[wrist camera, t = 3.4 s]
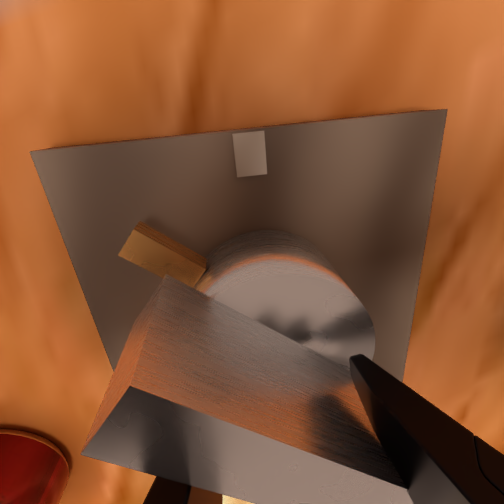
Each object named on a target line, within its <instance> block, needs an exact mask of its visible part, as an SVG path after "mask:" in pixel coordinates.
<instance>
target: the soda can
mask: <svg viewBox="0 0 504 504" xmlns="http://www.w3.org/2000/svg"><path fill="white" fill-rule="evenodd" d="M68 478H69V467H68V464H67V461H66V459H65V456H64V454H63V453H62V452H61V450H60V449H59V448H58V447H57V446H56V445H54V444H53V443H52V442H50V441H49V440H47V439H45V438H43V437H41V436H38V435H36V434H33V433H29V432H25V431H19V430H11V429H0V504H59V502H60V500H61V497H62V495H63V492H64V490H65V487H66V485H67V482H68Z"/></svg>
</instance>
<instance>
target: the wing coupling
mask: <svg viewBox="0 0 504 504" xmlns="http://www.w3.org/2000/svg"><path fill="white" fill-rule="evenodd" d="M118 255H119V256H120V257H122V258H124V259H126V260H128V261H130V262H132V263H134V264H136V265H138V266H140V267H142V268H144V269H146V270H148V271H150V272H152V273H154V274H155V275H157V276H159V277H161V278H163V280H162V281H161V283H160V284H159V286H158V287H157V289H156V290H155V292H154V293H153V295H152V296H151V298H150V299H149V301H148V302H147V304H146V305H145V307H144V308H143V310H142V311H141V313H140V314H139V316H138V317H137V319H136V320H135V322H134V324H133V326H132V329H131V331H130V334H129V336H128V339H127V341H126V344H125V346H124V349H123V351H122V353H121V356H120V358H119V361H118V363H117V366H116V368H115V371H114V373H113V376H112V378H111V381H110V383H109V386H108V388H107V390H106V393H105V395H104V398H103V400H102V403H101V405H100V408H99V410H98V413H97V415H96V418H95V420H94V423H93V425H92V427H91V430H90V432H89V435H88V437H87V440H86V442H85V445H84V447H83V450H82V452H81V455H84V456H87V457H91V458H94V459H98V460H101V461H105V462H108V463H112V464H116V465H119V466H123V467H126V468H130V469H133V470H137V471H141V472H144V473H148V474H151V475H155V476H158V477H162V478H166V479H169V480H173V481H176V482H180V483H183V484H187V485H191V486H194V487H198V488H201V489H205V490H208V491H212V492H216V493H219V494H223V495H226V496H230V497H233V498H237V499H241V500H244V501H248V502H251V503H255V504H413V502H412V500H411V498H410V496H409V494H408V488H407V487H406V485H405V483H404V482H403V480H402V479H401V477H400V475H399V474H398V472H397V470H396V469H395V467H394V465H393V464H392V462H391V460H390V459H389V457H388V456H387V454H386V452H385V451H384V449H383V447H382V445H381V443H380V442H379V440H378V438H377V436H376V434H375V432H374V430H373V428H372V426H371V423H370V421H369V419H368V416H367V414H366V412H365V409H364V407H363V405H362V402H361V400H360V397H359V395H358V393H357V390H356V388H355V386H354V383H353V381H352V378H351V372H350V363H349V358H350V356H353V355H357V354H363V355H365V356H366V357H368V358H369V359H370V360H372V359H373V355H374V351H375V331H374V327H373V323H372V320H371V318H370V316H369V314H368V312H367V310H366V309H365V307H364V306H363V304H362V303H361V302H360V301H359V299H358V298H357V297H356V295H355V294H354V293H353V292H352V290H351V289H350V288H349V287H348V285H347V284H346V283H345V282H344V280H343V279H342V278H341V276H340V275H339V274H338V273H337V271H336V270H335V269H334V268H333V266H332V265H331V264H330V262H329V261H328V260H327V259H326V257H325V256H324V255H323V254H322V253H321V252H320V251H319V249H318V248H317V247H315V246H314V245H313V244H311V243H310V242H309V241H307V240H305V239H303V238H302V237H299V236H297V235H294V234H291V233H287V232H283V231H275V230H260V231H252V232H248V233H244V234H240V235H238V236H235V237H233V238H230V239H229V240H227V241H225V242H223V243H221V244H220V245H219V246H217V247H216V248H215V249H213V250H212V251H211V252H210V253H209V254H208V255H207V256H206V257H203V256H201V255H200V254H198V253H196V252H194V251H193V250H191V249H189V248H187V247H186V246H184V245H182V244H180V243H179V242H177V241H175V240H173V239H171V238H170V237H168V236H166V235H164V234H163V233H161V232H159V231H157V230H156V229H154V228H152V227H150V226H149V225H147V224H145V223H143V222H142V221H139V222H138V224H137V225H136V226H135V228H134V229H133V231H132V232H131V234H130V236H129V237H128V239H127V241H126V243H125V244H124V246H123V248H122V249H121V251H120V253H119V254H118Z"/></svg>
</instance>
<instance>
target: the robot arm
mask: <svg viewBox="0 0 504 504" xmlns="http://www.w3.org/2000/svg"><path fill="white" fill-rule="evenodd" d="M349 363H350V372H351V378H352V381H353V383H354V386H355V388H356V390H357V393H358V395H359V397H360V400H361V402H362V405H363V407H364V409H365V412H366V414H367V416H368V419H369V421H370V423H371V426H372V428H373V430H374V432H375V434H376V436H377V438H378V440H379V442H380V443H381V445H382V447H383V449H384V451H385V452H386V454H387V456H388V457H389V459H390V460H391V462H392V464H393V465H394V467H395V469H396V470H397V472H398V474H399V475H400V477H401V479H402V480H403V482H404V483H405V485H406V487H407V488H408V494H409V496H410V498H411V500H412V502H413V504H504V455H503V454H502V453H500V452H499V451H497V450H496V449H494V448H493V447H491V446H490V445H489V444H487V443H486V442H485V441H483V440H482V439H480V438H479V437H478V436H474V434H473V433H472V432H470V431H469V430H468V429H466V428H465V427H464V426H462V425H461V424H459V423H458V422H457V421H455V420H454V419H452V418H451V417H450V416H448V415H447V414H445V413H444V412H443V411H441V410H440V409H438V408H437V407H436V406H434V405H433V404H432V403H430V402H429V401H427V400H426V399H425V398H423V397H422V396H420V395H419V394H418V393H416V392H415V391H413V390H412V389H411V388H409V387H408V386H406V385H405V384H404V383H402V382H401V381H400V380H398V379H397V378H395V377H394V376H393V375H391V374H390V373H388V372H387V371H386V370H384V369H383V368H381V367H380V366H379V365H377V364H376V363H374V362H373V361H372V360H370V359H369V358H368V357H366V356H365V355H363V354H357V355H353V356H350V358H349ZM143 504H222V494H219V493H216V492H212V491H208V490H205V489H201V488H198V487H194V486H191V485H187V484H183V483H180V482H176V481H173V480H169V479H166V478H162V477H158V476H156V478H155V480H154V482H153V484H152V486H151V488H150V490H149V492H148V494H147V496H146V498H145V500H144V502H143Z"/></svg>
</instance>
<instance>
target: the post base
mask: <svg viewBox="0 0 504 504" xmlns="http://www.w3.org/2000/svg"><path fill="white" fill-rule="evenodd" d="M447 110H448V109H441V110H421V111H411V112H401V113H391V114H382V115H372V116H362V117H352V118H342V119H332V120H322V121H313V122H303V123H293V124H283V125H273V126H263V127H253V128H244V129H234V130H224V131H214V132H204V133H194V134H184V135H175V136H165V137H155V138H145V139H135V140H125V141H115V142H106V143H96V144H86V145H76V146H66V147H56V148H48V149H42V150H37V151H31V152H30V154H31V157H32V159H33V162H34V164H35V167H36V170H37V172H38V175H39V178H40V180H41V183H42V185H43V188H44V191H45V193H46V196H47V198H48V201H49V204H50V206H51V209H52V212H53V214H54V217H55V219H56V222H57V225H58V227H59V230H60V233H61V235H62V238H63V240H64V243H65V246H66V248H67V251H68V253H69V256H70V259H71V261H72V264H73V267H74V269H75V272H76V274H77V277H78V280H79V282H80V285H81V287H82V290H83V293H84V295H85V298H86V301H87V303H88V306H89V308H90V311H91V314H92V316H93V319H94V321H95V324H96V327H97V329H98V332H99V335H100V337H101V340H102V342H103V345H104V348H105V350H106V353H107V355H108V358H109V361H110V363H111V366H112V369H113V371H115V368H116V366H117V363H118V361H119V358H120V356H121V353H122V351H123V349H124V346H125V344H126V341H127V339H128V336H129V334H130V331H131V329H132V326H133V324H134V322H135V320H136V319H137V317H138V316H139V314H140V313H141V311H142V310H143V308H144V307H145V305H146V304H147V302H148V301H149V299H150V298H151V296H152V295H153V293H154V292H155V290H156V289H157V287H158V286H159V284H160V283H161V281H162V280H163V278H161V277H159V276H157V275H155V274H154V273H152V272H150V271H148V270H146V269H144V268H142V267H140V266H138V265H136V264H134V263H132V262H130V261H128V260H126V259H124V258H122V257H120V256H119V255H118V254H119V253H120V251H121V249H122V248H123V246H124V244H125V243H126V241H127V239H128V237H129V236H130V234H131V232H132V231H133V229H134V228H135V226H136V225H137V224H138V222H139V221H142V222H143V223H145V224H147V225H149V226H150V227H152V228H154V229H156V230H157V231H159V232H161V233H163V234H164V235H166V236H168V237H170V238H171V239H173V240H175V241H177V242H179V243H180V244H182V245H184V246H186V247H187V248H189V249H191V250H193V251H194V252H196V253H198V254H200V255H201V256H203V257H206V256H207V255H208V254H209V253H210V252H211V251H212V250H213V249H215V248H216V247H217V246H219V245H220V244H221V243H223V242H225V241H227V240H229V239H230V238H233V237H235V236H238V235H240V234H244V233H248V232H252V231H260V230H275V231H283V232H287V233H291V234H294V235H297V236H299V237H302V238H303V239H305V240H307V241H309V242H310V243H311V244H313V245H314V246H315V247H317V248H318V249H319V251H320V252H321V253H322V254H323V255H324V256H325V257H326V259H327V260H328V261H329V262H330V264H331V265H332V266H333V268H334V269H335V270H336V271H337V273H338V274H339V275H340V276H341V278H342V279H343V280H344V282H345V283H346V284H347V285H348V287H349V288H350V289H351V290H352V292H353V293H354V294H355V295H356V297H357V298H358V299H359V301H360V302H361V303H362V304H363V306H364V307H365V309H366V310H367V312H368V314H369V316H370V318H371V320H372V323H373V327H374V331H375V351H374V355H373V359H372V361H373V362H374V363H376V364H377V365H379V366H380V367H381V368H383V369H384V370H386V371H387V372H388V373H390V374H391V375H393V376H394V377H395V378H397V379H398V380H400V381H401V382H402V381H403V375H404V369H405V363H406V357H407V351H408V345H409V339H410V333H411V327H412V321H413V315H414V309H415V303H416V297H417V291H418V285H419V279H420V273H421V267H422V261H423V255H424V249H425V243H426V236H427V230H428V224H429V218H430V212H431V206H432V200H433V194H434V188H435V182H436V176H437V170H438V164H439V158H440V152H441V146H442V140H443V134H444V128H445V122H446V116H447Z"/></svg>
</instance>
